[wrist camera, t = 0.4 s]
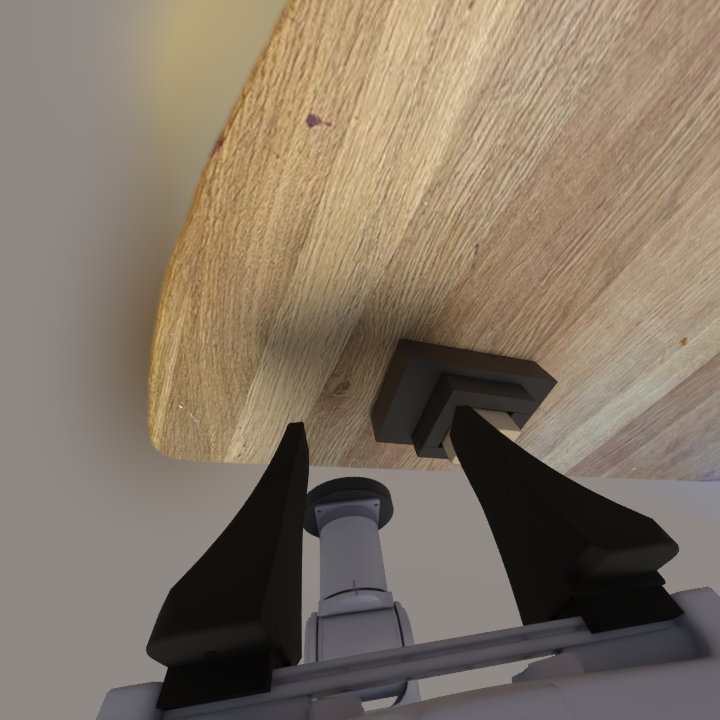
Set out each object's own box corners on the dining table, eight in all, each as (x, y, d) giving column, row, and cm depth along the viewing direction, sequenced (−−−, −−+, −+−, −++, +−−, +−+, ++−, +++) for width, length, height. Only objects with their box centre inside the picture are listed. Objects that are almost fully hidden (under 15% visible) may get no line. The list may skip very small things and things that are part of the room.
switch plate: (535, 361, 23) (577, 397, 19) (488, 429, 27) (515, 470, 23) (399, 338, 20) (417, 374, 16) (370, 417, 24) (379, 461, 20)
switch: (506, 411, 20) (522, 432, 18) (482, 445, 21) (495, 467, 20) (461, 405, 19) (474, 427, 17) (440, 441, 21) (450, 464, 19)
